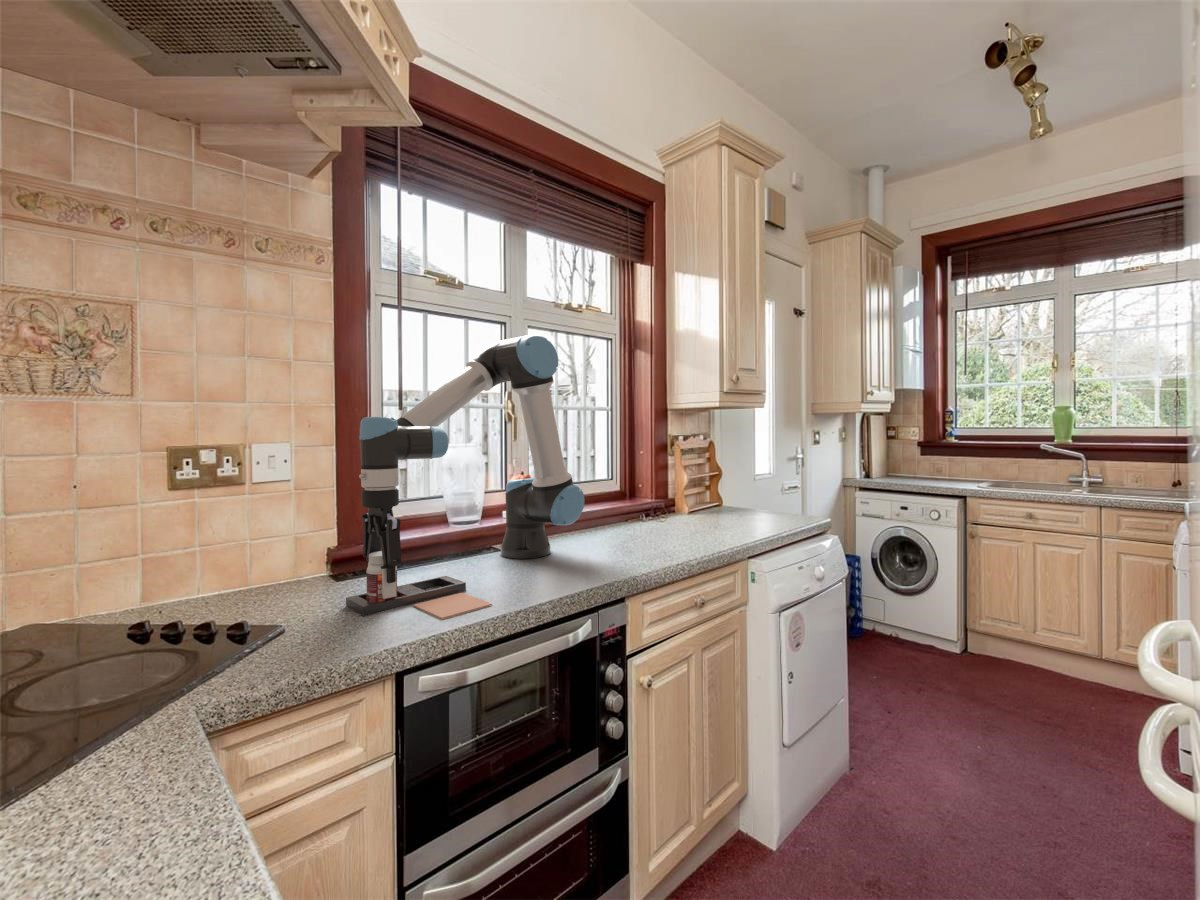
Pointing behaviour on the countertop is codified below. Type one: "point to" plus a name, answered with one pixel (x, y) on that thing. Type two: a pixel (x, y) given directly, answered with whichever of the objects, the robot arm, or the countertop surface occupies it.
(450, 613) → the plate
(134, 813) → the countertop surface
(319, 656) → the countertop surface
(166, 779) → the countertop surface
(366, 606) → the compartment tray
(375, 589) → the pill bottle
